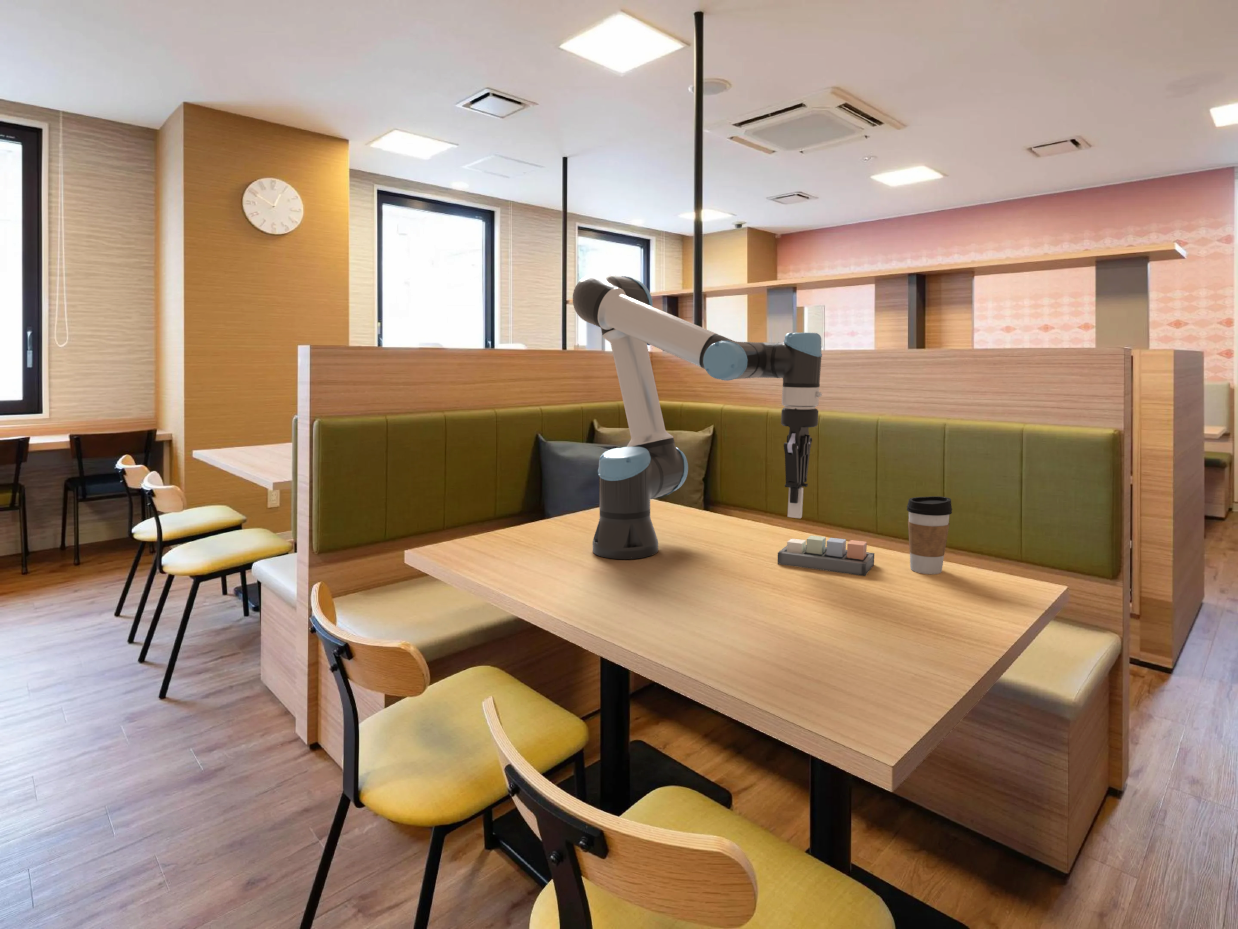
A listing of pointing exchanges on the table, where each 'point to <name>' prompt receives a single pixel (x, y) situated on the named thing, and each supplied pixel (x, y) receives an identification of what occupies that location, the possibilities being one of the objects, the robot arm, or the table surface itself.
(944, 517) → the coffee cup
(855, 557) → the key terracotta
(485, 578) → the table surface
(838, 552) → the key slate
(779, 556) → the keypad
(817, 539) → the key sage
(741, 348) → the robot arm
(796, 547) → the key cream
